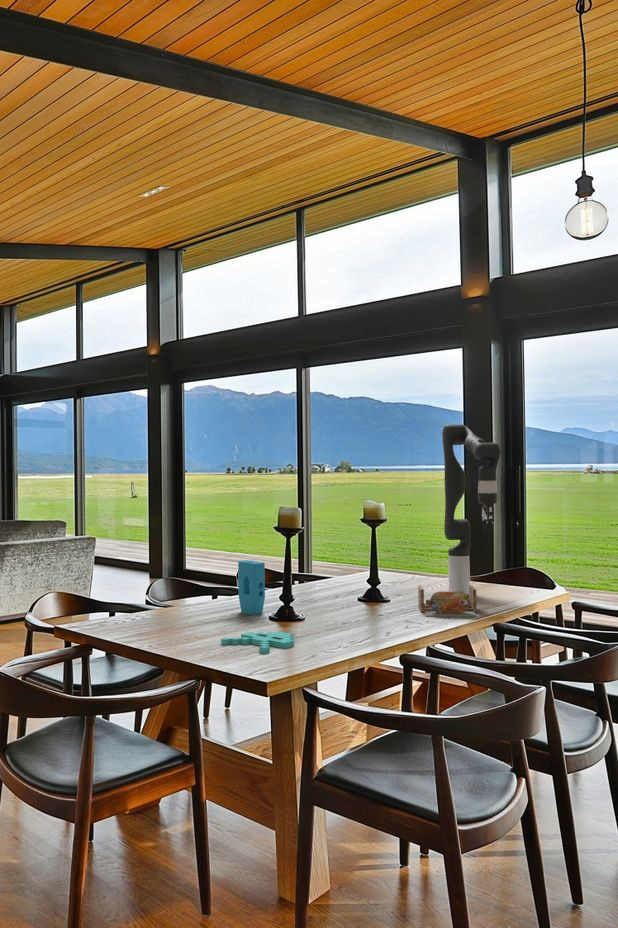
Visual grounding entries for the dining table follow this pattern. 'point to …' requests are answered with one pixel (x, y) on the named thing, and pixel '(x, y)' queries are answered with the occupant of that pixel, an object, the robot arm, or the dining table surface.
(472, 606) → the rack
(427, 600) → the offcut oak
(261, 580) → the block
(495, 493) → the robot arm
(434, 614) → the felt mat
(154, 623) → the dining table surface
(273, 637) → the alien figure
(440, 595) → the tin
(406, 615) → the dining table surface
